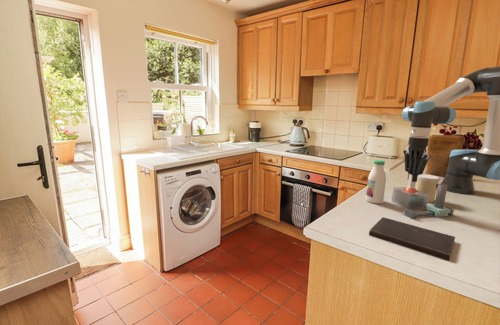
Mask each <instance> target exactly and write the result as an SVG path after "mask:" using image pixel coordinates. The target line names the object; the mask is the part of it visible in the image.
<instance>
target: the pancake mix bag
mask: <svg viewBox="0 0 500 325" xmlns="http://www.w3.org/2000/svg"><path fill="white" fill-rule="evenodd" d="M428 138H429V143H428V146H427V147H426V150H427V152H426V153H427V154H428V155H431V157H430V158H429V159H428V162H427V164H426V171H425V174H427V175H433V176H437V177H441V176H442V178H445V176H446V174H447V168H448V163H449V156H450V153H451V151H452V150H458V149H463V146H464V142H465V138H466V137H464V136H463V135H452V134H449V135H447V134H430V137H428Z"/></svg>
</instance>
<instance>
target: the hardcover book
mask: <svg viewBox="0 0 500 325" xmlns="http://www.w3.org/2000/svg"><path fill="white" fill-rule="evenodd" d="M368 235H369V236H371V237H374V238H377V239H380V240H382V241H387V242H389V243H392V244H396V245H398V246H401V247H405V248H408V249H411V250H415V251H418V252H420V253H423V254H426V255H430V256H433V257H436V258H438V259H439V258H440V259H442V260H444V261H447V262H449V261H450V258H451V254H452V250H453V247H454V243H455V240H456V236H453V235H449V234H447V233H443V232H438V231H436V230H431V229H428V228H424V227H420V226H416V225H414V224H413V225H412V224H410V223H405V222H401V221H398V220H394V219H390V218H387V217H384V216H382V218H380V219H379V220H378V222H376V223H375V224H374V226H372V227H371V228H370V229H369V231H368Z"/></svg>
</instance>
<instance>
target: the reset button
mask: <svg viewBox="0 0 500 325" xmlns="http://www.w3.org/2000/svg"><path fill="white" fill-rule="evenodd" d="M405 187H406V191H408V192H410V193H412V192H416V187H415V188H412V189H409V188H407V186H405Z"/></svg>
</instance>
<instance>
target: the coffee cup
mask: <svg viewBox="0 0 500 325" xmlns="http://www.w3.org/2000/svg"><path fill="white" fill-rule="evenodd" d="M438 184H440V176H435V175H429V174H426V173H423V174H422V175H418V178H417V182H416V183H415V189H418V190H421V191H423V192H426V193H429V196H428V201H427V203H433V202H435V199H436V193H437V188H438Z"/></svg>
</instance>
